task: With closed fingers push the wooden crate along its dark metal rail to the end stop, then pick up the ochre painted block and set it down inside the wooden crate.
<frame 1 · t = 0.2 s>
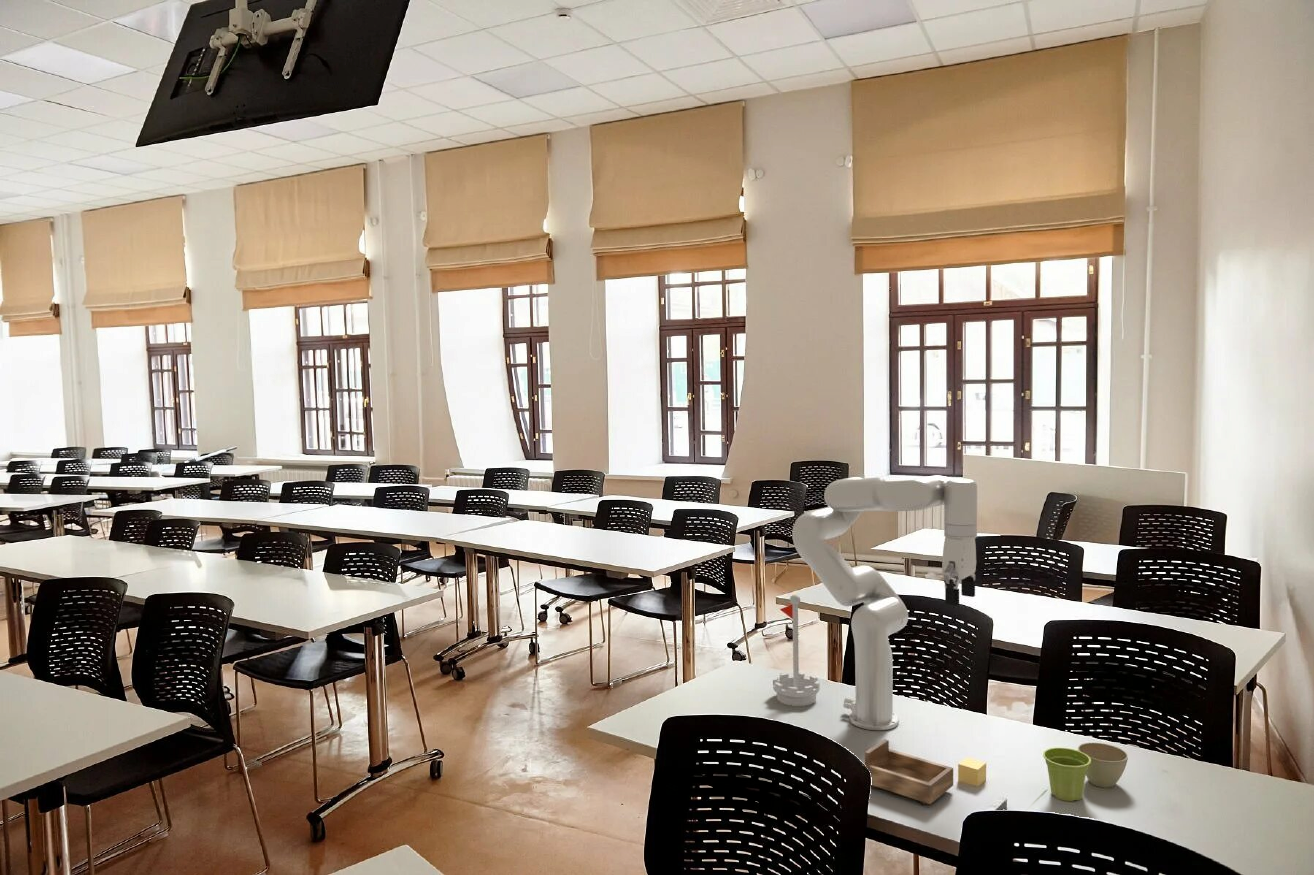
hand: (960, 600, 221), 36 cm above the table, tool pointing down, fingers open, 9 cm apart
rail: (928, 798, 198), on the table
flag stand: (796, 699, 258), on the table
wooden crate: (907, 772, 201), point 4 cm above the table, slide at 0.0 cm
block: (972, 782, 205), on the table
plant pot: (1066, 796, 198), on the table
flower pot: (1102, 783, 203), on the table
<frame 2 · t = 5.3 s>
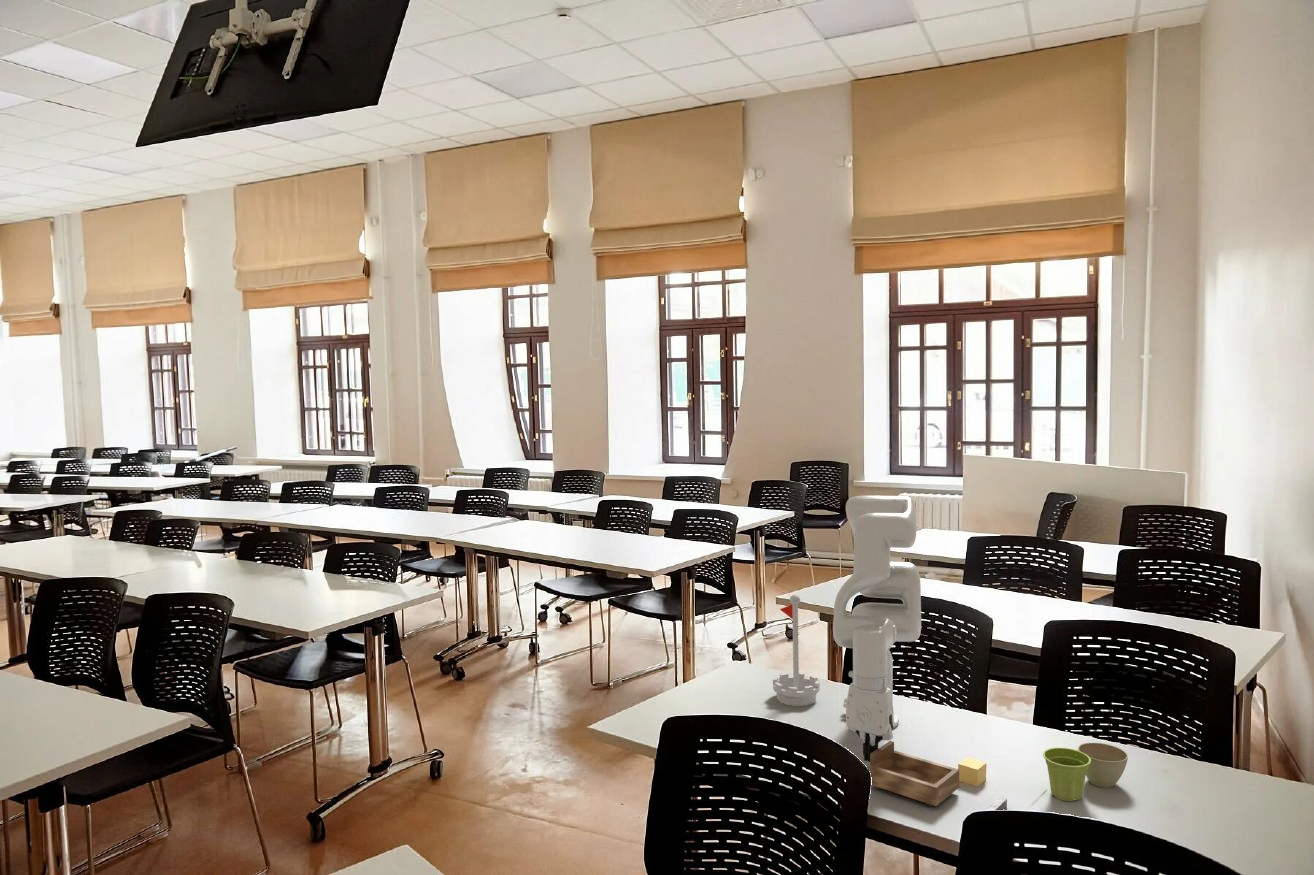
hand: (870, 759, 207), 5 cm above the table, tool pointing down, fingers closed
wooden crate: (913, 774, 200), point 4 cm above the table, slide at 1.4 cm, touching gripper
everything else where it was.
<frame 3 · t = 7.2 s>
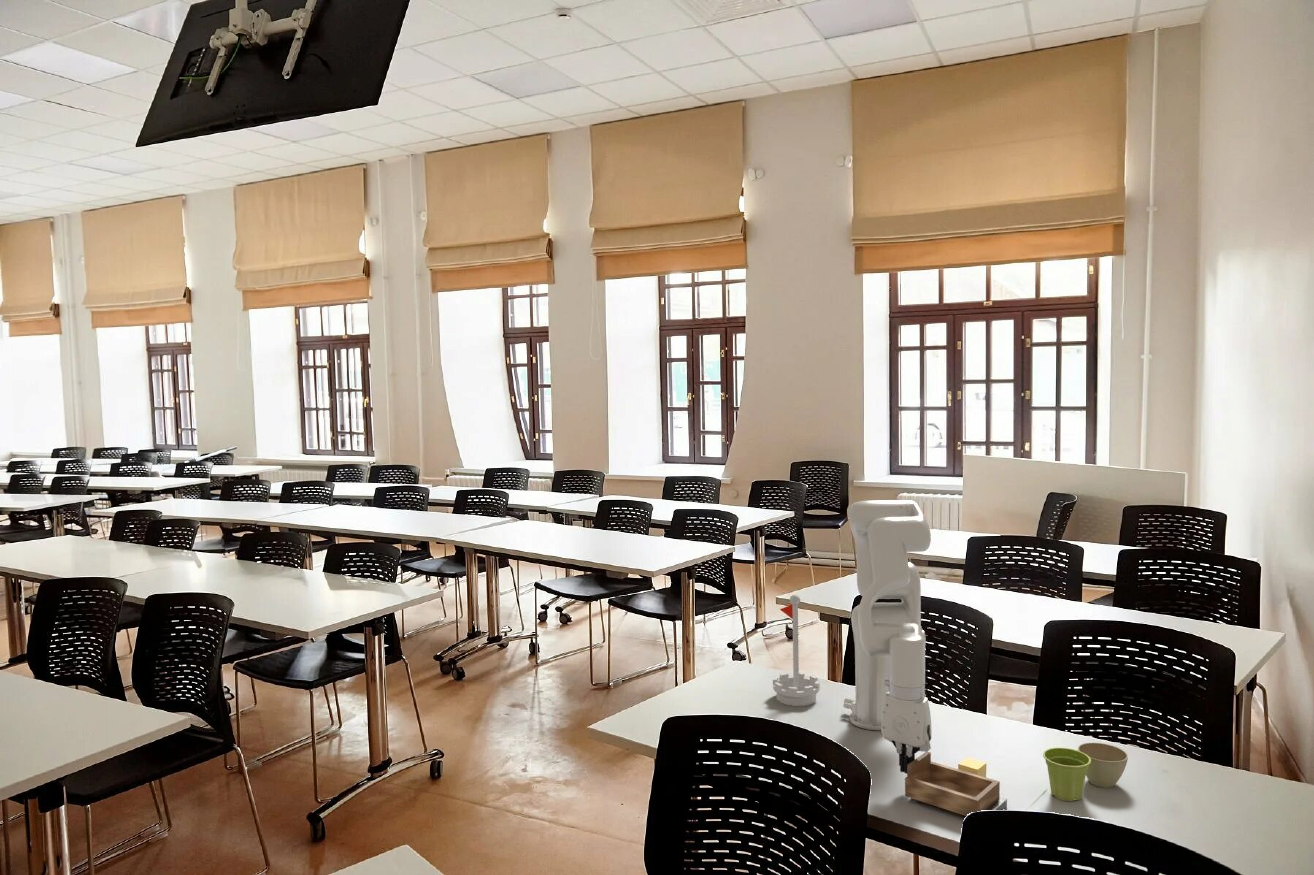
hand: (906, 770, 201), 5 cm above the table, tool pointing down, fingers closed
wooden crate: (952, 786, 194), point 4 cm above the table, slide at 10.2 cm, touching gripper
everything else where it was.
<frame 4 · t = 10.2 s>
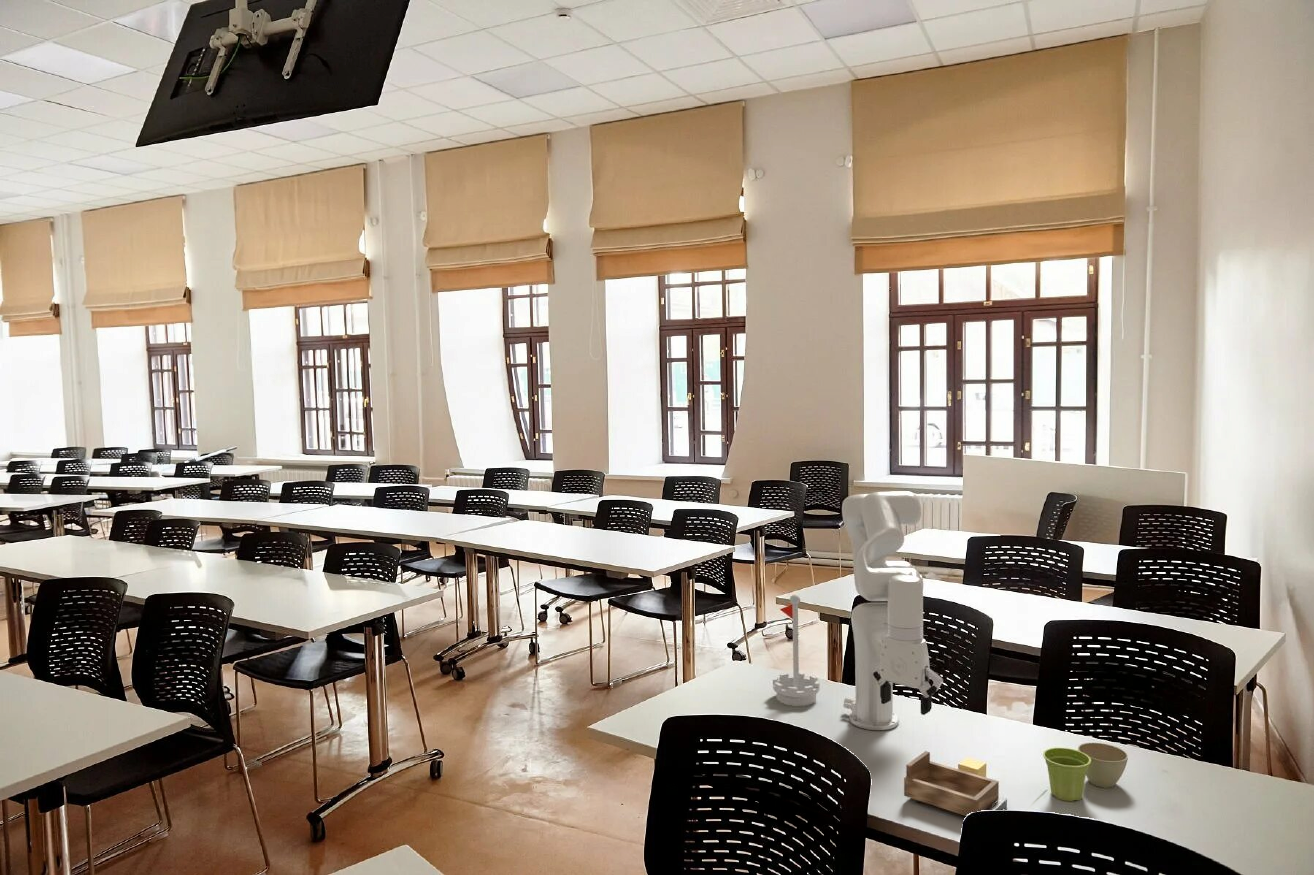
hand: (905, 707, 203), 18 cm above the table, tool pointing down, fingers open, 9 cm apart
wooden crate: (951, 785, 194), point 4 cm above the table, slide at 10.0 cm
everything else where it was.
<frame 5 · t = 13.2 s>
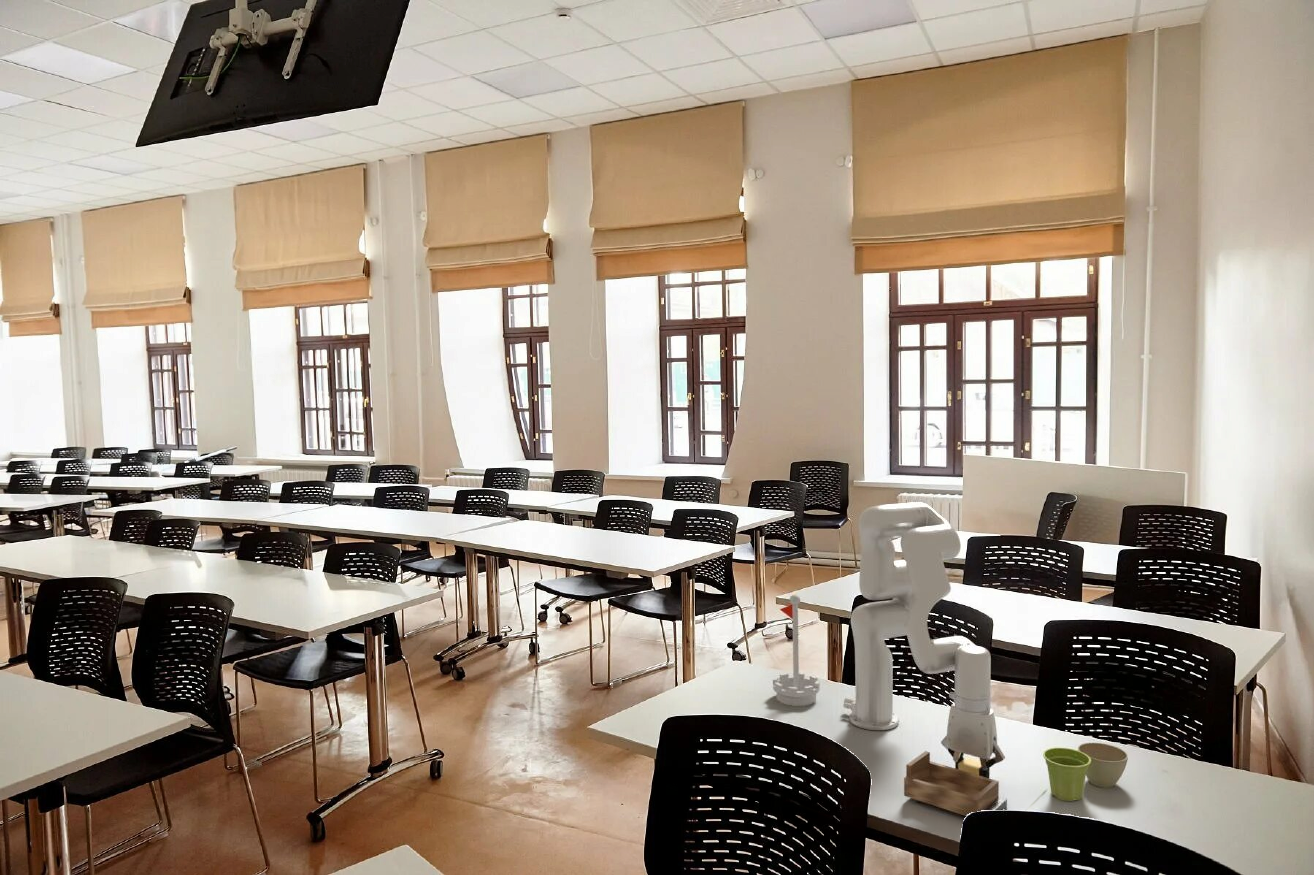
hand: (972, 780, 205), 0 cm above the table, tool pointing down, fingers closed on block, 4 cm apart
block: (972, 782, 205), on the table, touching gripper
everything else where it was.
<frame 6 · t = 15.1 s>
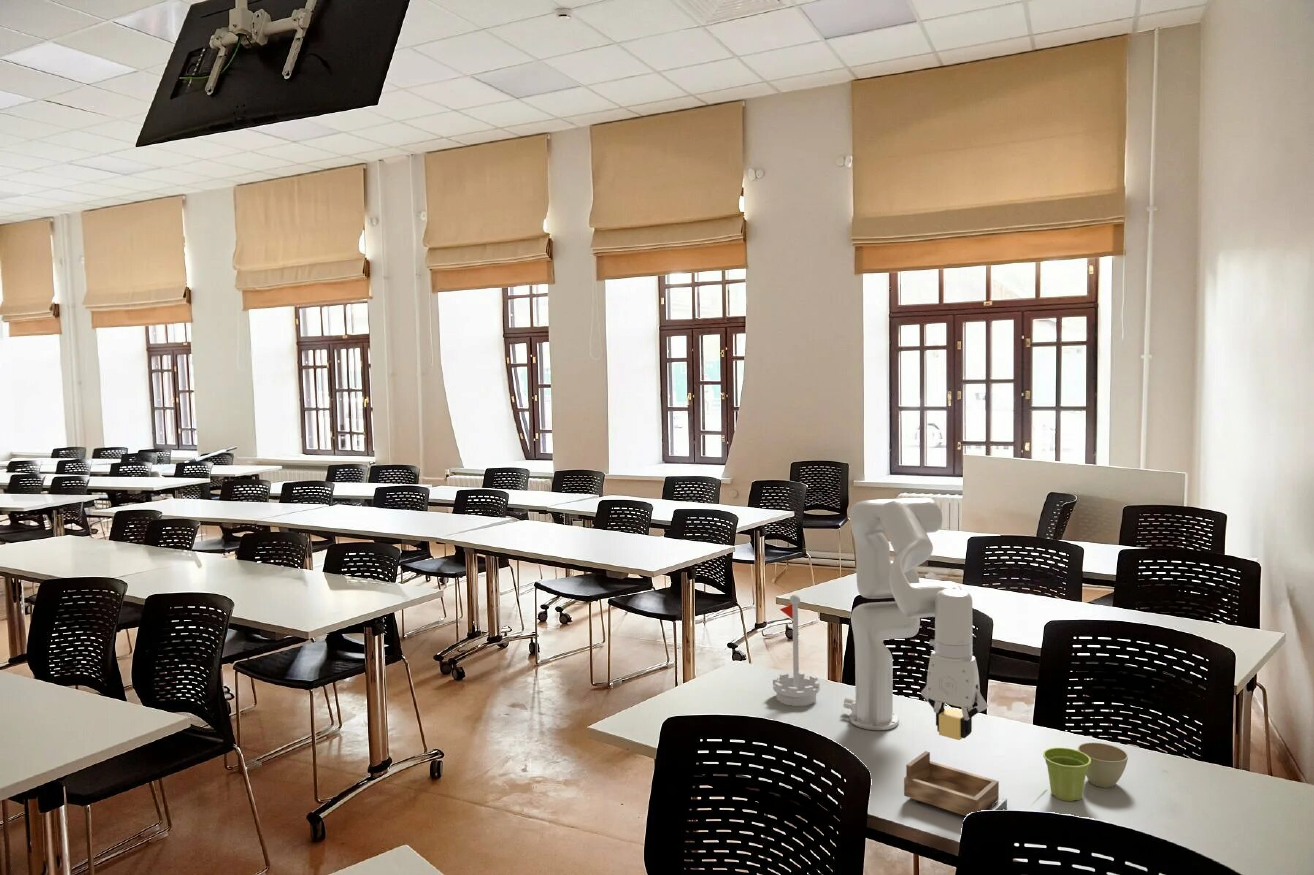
hand: (953, 732, 194), 16 cm above the table, tool pointing down, fingers closed on block, 4 cm apart
block: (953, 734, 194), point 15 cm above the table, touching gripper
everything else where it was.
when the fingers open (5 cm above the table, at t = 17.4 s): block drops 2 cm, resting on wooden crate.
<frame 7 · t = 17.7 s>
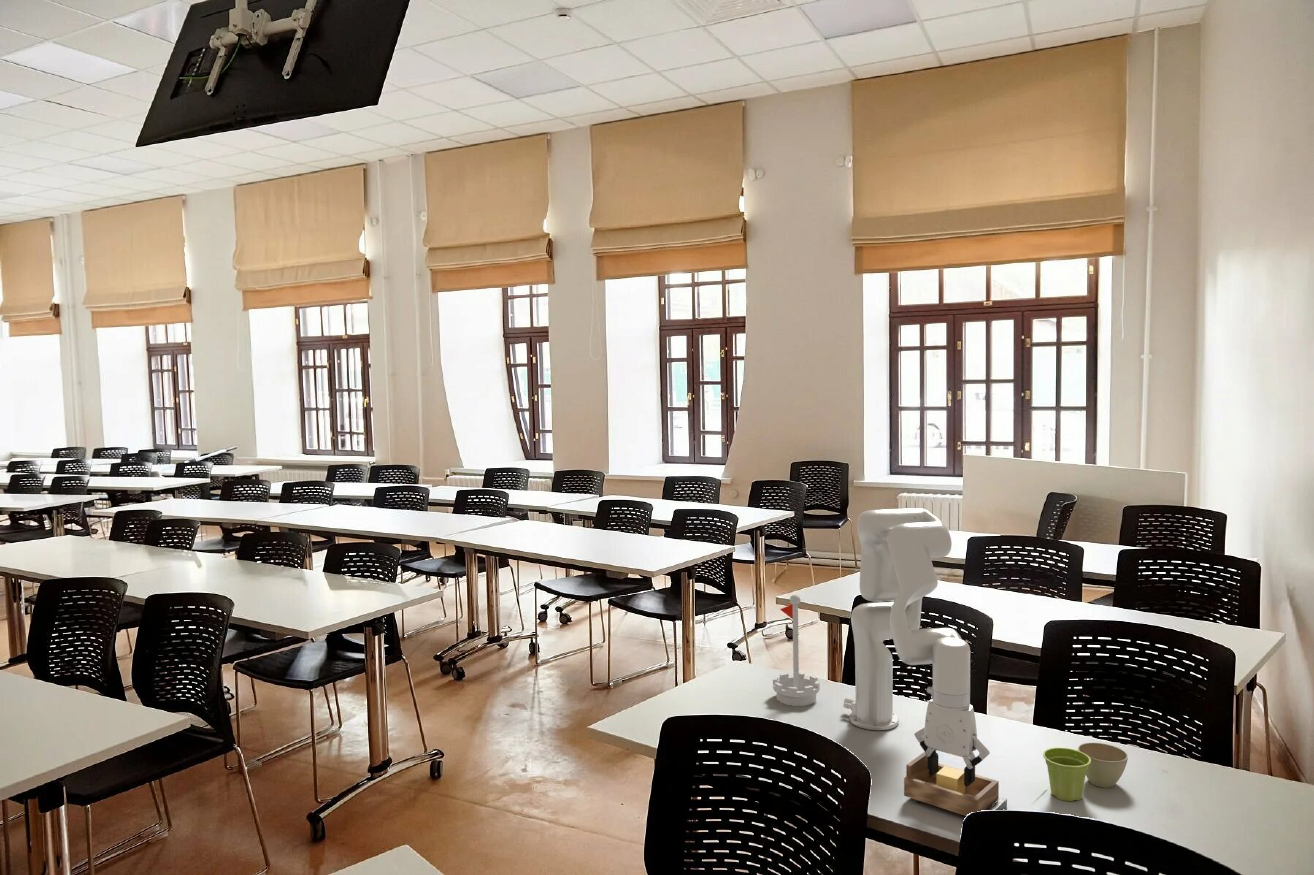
hand: (950, 778, 194), 6 cm above the table, tool pointing down, fingers open, 7 cm apart
wooden crate: (951, 785, 194), point 4 cm above the table, slide at 10.0 cm, touching block
block: (950, 793, 195), point 3 cm above the table, touching wooden crate
everything else where it was.
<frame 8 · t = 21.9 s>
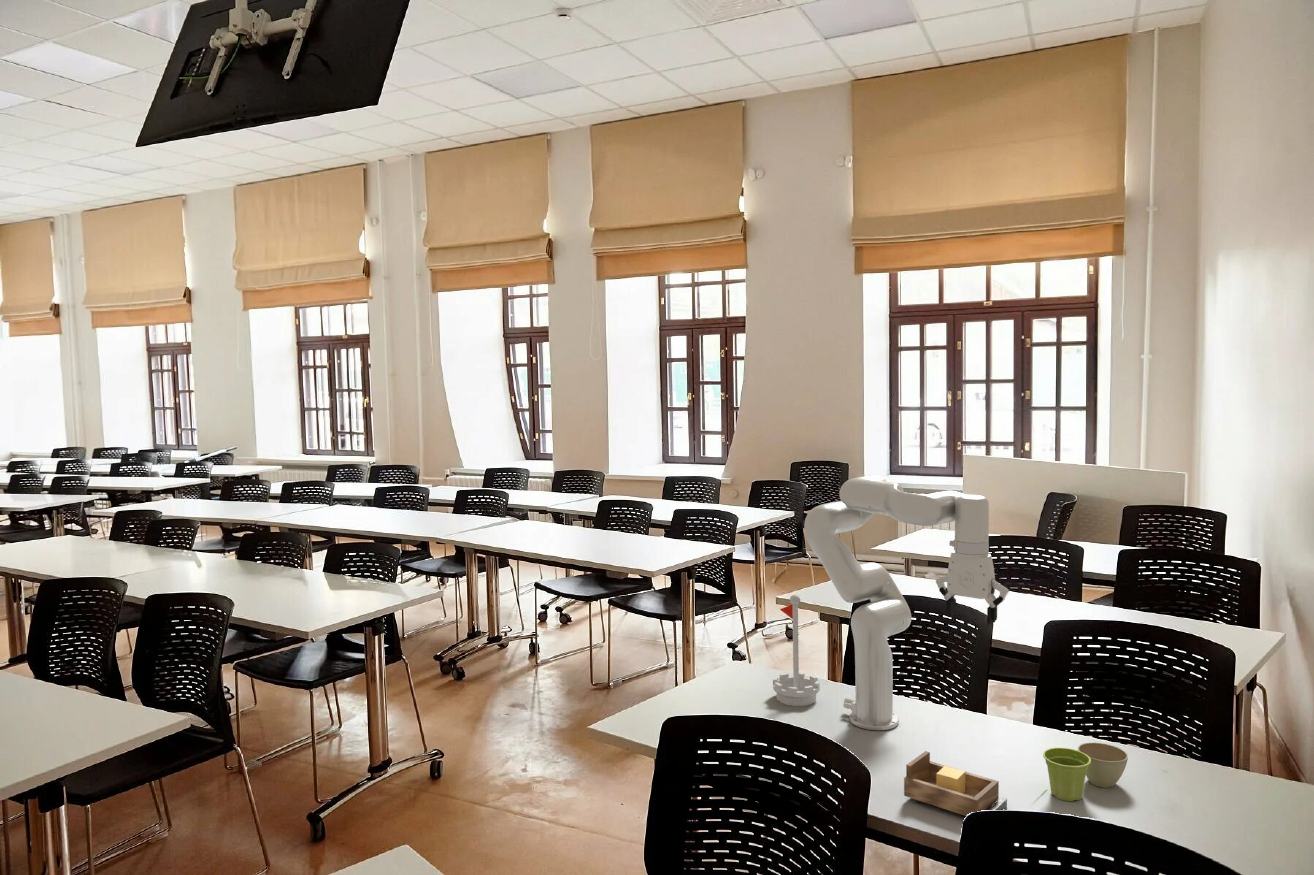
hand: (971, 619, 216), 33 cm above the table, tool pointing down, fingers open, 9 cm apart
nothing on the table moved.
at the end: wooden crate slide at 10.0 cm; block inside the target area (0.4 cm from its centre), point 2.7 cm above the table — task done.
